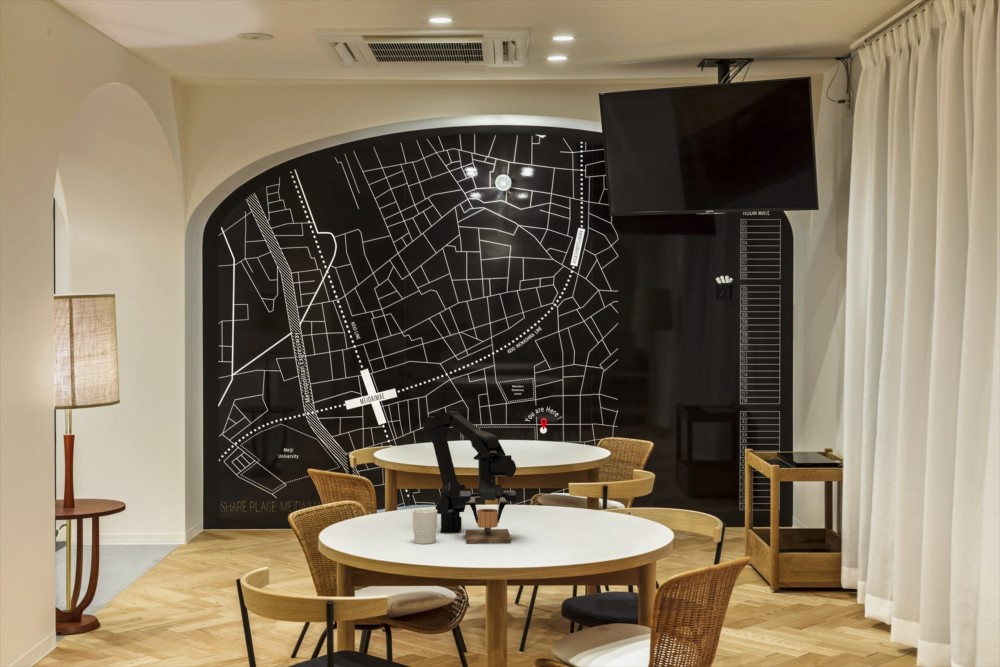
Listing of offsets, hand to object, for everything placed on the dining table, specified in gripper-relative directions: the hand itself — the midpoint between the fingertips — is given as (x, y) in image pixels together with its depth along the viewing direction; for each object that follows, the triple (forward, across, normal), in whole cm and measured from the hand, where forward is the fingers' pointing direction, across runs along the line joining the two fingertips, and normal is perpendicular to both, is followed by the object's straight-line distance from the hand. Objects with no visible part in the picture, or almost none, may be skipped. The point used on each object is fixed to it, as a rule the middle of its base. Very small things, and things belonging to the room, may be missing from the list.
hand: (487, 522), depth 311 cm
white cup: (+5, -20, -4) cm, 21 cm away
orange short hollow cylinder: (+1, 0, 0) cm, 1 cm away
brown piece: (+5, 0, 0) cm, 5 cm away
